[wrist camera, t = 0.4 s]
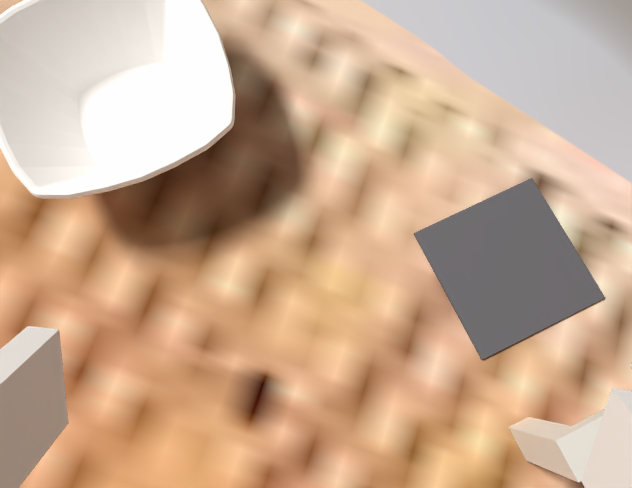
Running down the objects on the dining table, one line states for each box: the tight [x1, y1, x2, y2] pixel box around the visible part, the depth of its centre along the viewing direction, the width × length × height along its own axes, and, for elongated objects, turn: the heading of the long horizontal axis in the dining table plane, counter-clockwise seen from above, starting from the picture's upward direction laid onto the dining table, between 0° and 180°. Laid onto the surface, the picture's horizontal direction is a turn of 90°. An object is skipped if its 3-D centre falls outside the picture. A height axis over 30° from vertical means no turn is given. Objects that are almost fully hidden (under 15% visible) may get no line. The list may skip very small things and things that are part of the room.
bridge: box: [509, 363, 632, 483], centre depth 41 cm, size 3×14×9 cm, turn 115°
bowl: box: [0, 0, 236, 199], centre depth 48 cm, size 21×21×9 cm
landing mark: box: [414, 178, 605, 360], centre depth 49 cm, size 13×13×1 cm
